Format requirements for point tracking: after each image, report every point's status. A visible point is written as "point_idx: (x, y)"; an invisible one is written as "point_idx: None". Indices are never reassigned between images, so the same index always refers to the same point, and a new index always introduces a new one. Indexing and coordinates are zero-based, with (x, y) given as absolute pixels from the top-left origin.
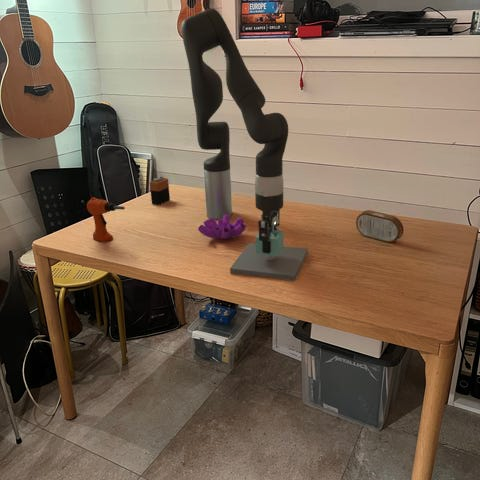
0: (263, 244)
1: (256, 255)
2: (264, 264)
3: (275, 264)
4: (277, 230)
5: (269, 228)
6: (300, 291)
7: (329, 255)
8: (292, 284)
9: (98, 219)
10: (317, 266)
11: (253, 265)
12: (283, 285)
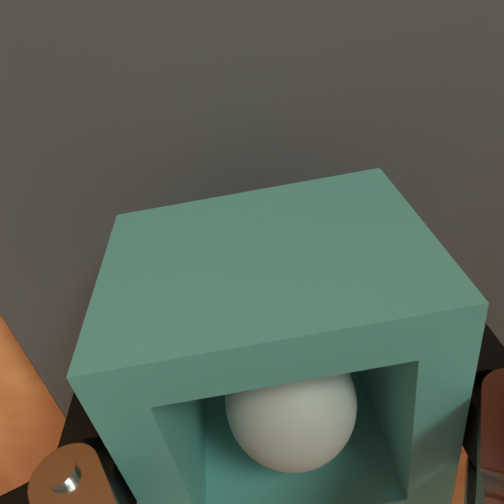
0: (66, 424)
1: (266, 112)
2: None
3: None
4: (448, 474)
5: (477, 417)
6: (11, 470)
7: None
8: (50, 426)
9: None
10: None
11: (46, 189)
12: (6, 402)
